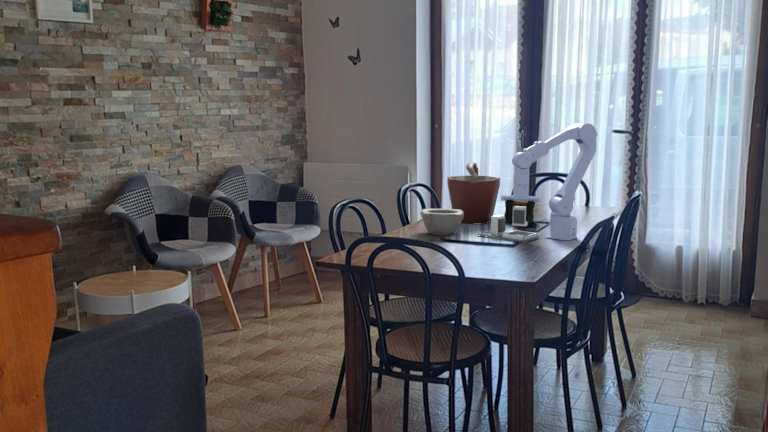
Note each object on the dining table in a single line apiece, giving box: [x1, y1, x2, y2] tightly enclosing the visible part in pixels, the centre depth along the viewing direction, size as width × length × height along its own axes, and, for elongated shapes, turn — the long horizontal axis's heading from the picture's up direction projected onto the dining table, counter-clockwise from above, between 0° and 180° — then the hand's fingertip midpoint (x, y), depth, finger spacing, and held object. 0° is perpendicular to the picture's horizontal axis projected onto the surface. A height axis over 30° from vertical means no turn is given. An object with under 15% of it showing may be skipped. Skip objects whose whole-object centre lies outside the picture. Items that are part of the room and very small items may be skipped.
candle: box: [504, 199, 535, 226], centre depth 302 cm, size 10×10×10 cm
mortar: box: [420, 208, 464, 236], centre depth 278 cm, size 17×17×9 cm
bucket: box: [446, 162, 501, 225], centre depth 306 cm, size 24×22×25 cm
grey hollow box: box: [477, 214, 539, 243], centre depth 271 cm, size 20×11×8 cm, turn 51°
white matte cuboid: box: [511, 206, 528, 227], centre depth 266 cm, size 4×5×7 cm
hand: (520, 220), depth 267 cm, fingers closed on white matte cuboid, 5 cm apart
